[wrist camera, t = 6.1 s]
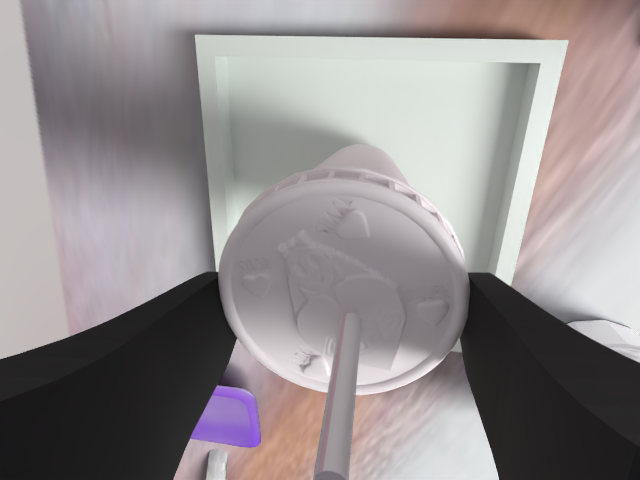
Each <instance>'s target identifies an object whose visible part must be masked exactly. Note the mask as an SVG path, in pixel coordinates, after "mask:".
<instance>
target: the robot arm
mask: <svg viewBox="0 0 640 480" xmlns="http://www.w3.org/2000/svg"><path fill="white" fill-rule="evenodd" d="M468 277H469V282H470V299H469V310H468V317H467V320H466V324H465V327H464V329H463V331H462V334H461V336H460V343H461V349H462V354H463V360H464V365H465V370H466V374H467V377H468V381H469V384H470V387H471V390H472V393H473V396H474V399H475V402H476V405H477V408H478V411H479V414H480V417H481V420H482V423H483V426H484V429H485V432H486V435H487V438H488V441H489V445H490V448H491V451H492V454H493V457H494V461H495V464H496V468H497V472H498V476H499V480H640V363H639V362H637V361H635V360H633V359H630V358H628V357H626V356H624V355H622V354H620V353H618V352H616V351H614V350H612V349H610V348H608V347H606V346H604V345H602V344H600V343H598V342H597V341H595V340H593V339H591V338H589V337H587V336H585V335H584V334H582V333H580V332H578V331H577V330H575V329H573V328H572V327H570V326H569V325H567V324H565V323H564V322H562V321H560V320H559V319H557V318H555V317H554V316H552V315H551V314H549V313H548V312H546V311H545V310H543V309H542V308H540V307H539V306H537V305H536V304H534V303H533V302H531V301H530V300H529V299H527V298H526V297H524V296H523V295H521V294H520V293H519V292H517V291H516V290H515V289H513V288H512V287H510V286H509V285H508V284H506V283H505V282H503V281H502V280H501V279H499V278H498V277H496V276H495V275H493V274H491V273H490V272H468ZM236 339H237V337H236V335H235V334H234V332H233V331H232V329H231V327H230V325H229V323H228V321H227V319H226V317H225V314H224V310H223V306H222V303H221V299H220V292H219V286H218V272H206V273H203V274H200V275H198V276H196V277H194V278H192V279H190V280H188V281H186V282H184V283H182V284H180V285H178V286H176V287H174V288H172V289H170V290H169V291H167V292H165V293H163V294H161V295H159V296H157V297H155V298H154V299H152V300H150V301H148V302H146V303H144V304H142V305H140V306H138V307H136V308H134V309H132V310H130V311H128V312H126V313H124V314H121V315H119V316H117V317H115V318H113V319H111V320H109V321H107V322H105V323H102V324H100V325H98V326H95V327H93V328H90V329H88V330H85V331H83V332H80V333H78V334H75V335H73V336H70V337H68V338H65V339H63V340H60V341H56V342H53V343H50V344H47V345H44V346H41V347H38V348H35V349H32V350H29V351H26V352H23V353H20V354H17V355H14V356H10V357H7V358H3V359H0V480H173V478H174V476H175V473H176V471H177V468H178V466H179V463H180V461H181V458H182V456H183V453H184V450H185V448H186V446H187V444H188V442H189V439H190V437H191V435H192V433H193V431H194V429H195V427H196V425H197V423H198V421H199V419H200V417H201V416H202V414H203V412H204V410H205V408H206V406H207V404H208V402H209V400H210V398H211V396H212V394H213V392H214V391H215V389H216V387H217V385H218V383H219V381H220V379H221V377H222V375H223V373H224V371H225V369H226V367H227V365H228V363H229V360H230V357H231V354H232V351H233V349H234V345H235V342H236Z"/></svg>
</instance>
